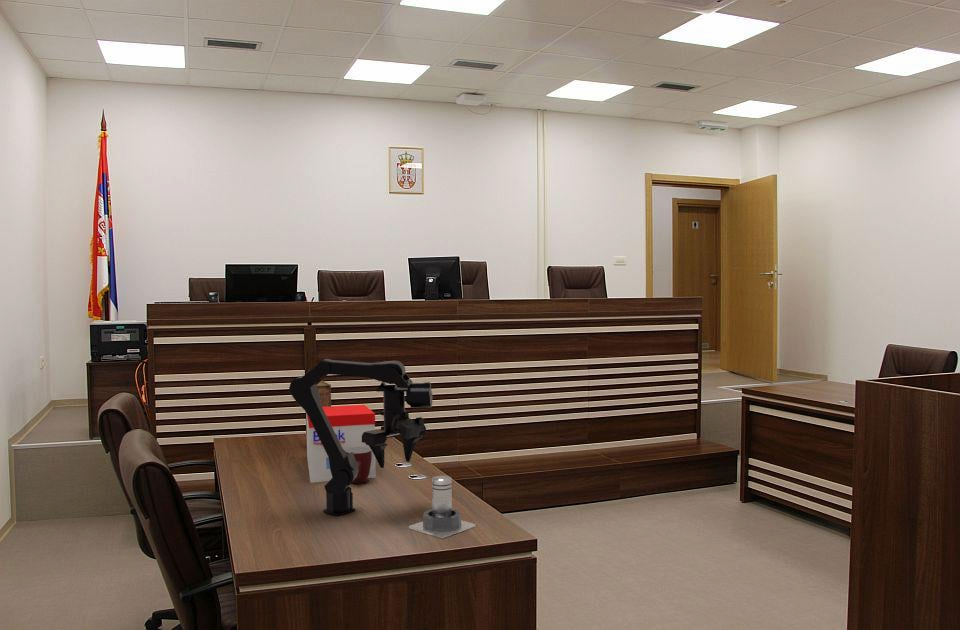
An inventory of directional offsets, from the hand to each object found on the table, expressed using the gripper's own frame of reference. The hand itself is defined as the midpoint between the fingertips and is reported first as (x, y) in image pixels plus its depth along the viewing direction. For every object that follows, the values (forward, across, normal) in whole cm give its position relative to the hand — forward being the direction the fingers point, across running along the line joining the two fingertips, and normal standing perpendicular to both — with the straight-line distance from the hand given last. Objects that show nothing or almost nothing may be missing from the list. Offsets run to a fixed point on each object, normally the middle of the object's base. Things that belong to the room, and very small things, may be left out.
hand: (395, 464), depth 204 cm
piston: (+12, -1, -19) cm, 23 cm away
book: (+13, +33, +81) cm, 88 cm away
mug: (+13, +12, +31) cm, 36 cm away
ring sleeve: (+13, -1, -19) cm, 23 cm away
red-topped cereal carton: (+13, +20, +52) cm, 58 cm away
